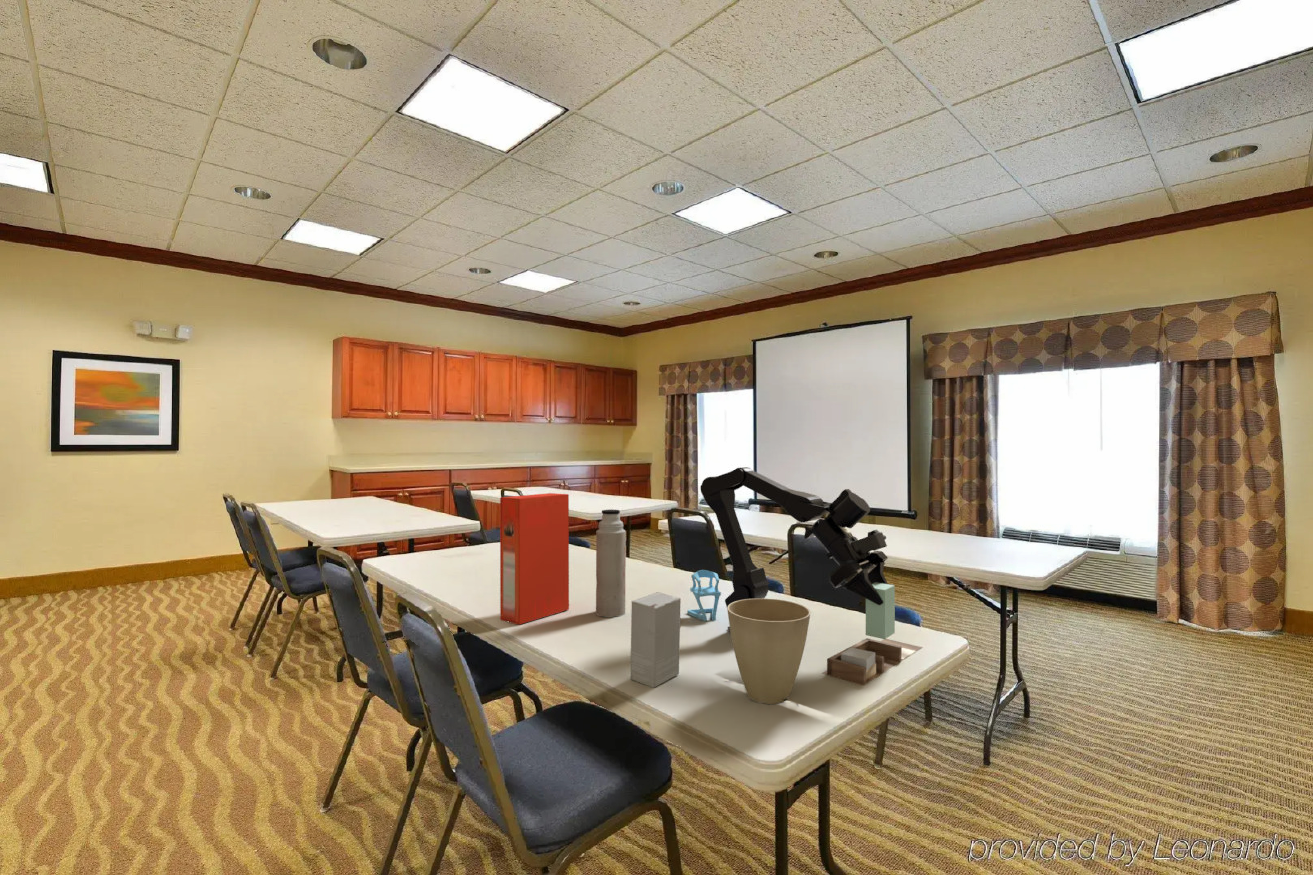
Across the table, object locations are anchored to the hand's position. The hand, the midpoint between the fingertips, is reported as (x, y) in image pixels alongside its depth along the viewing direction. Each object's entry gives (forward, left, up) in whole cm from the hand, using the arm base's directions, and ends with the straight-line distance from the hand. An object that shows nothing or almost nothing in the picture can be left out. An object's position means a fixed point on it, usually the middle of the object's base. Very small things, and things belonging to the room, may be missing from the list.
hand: (887, 601), depth 125 cm
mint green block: (-1, +1, -7) cm, 7 cm away
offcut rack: (-2, +2, -13) cm, 14 cm away
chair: (-25, +43, -14) cm, 52 cm away
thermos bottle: (-49, +52, -14) cm, 73 cm away
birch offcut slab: (-10, -4, -12) cm, 16 cm away
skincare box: (-48, +5, -14) cm, 50 cm away
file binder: (-69, +55, -14) cm, 90 cm away
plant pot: (-30, -8, -14) cm, 34 cm away
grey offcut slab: (-10, -4, -10) cm, 15 cm away
